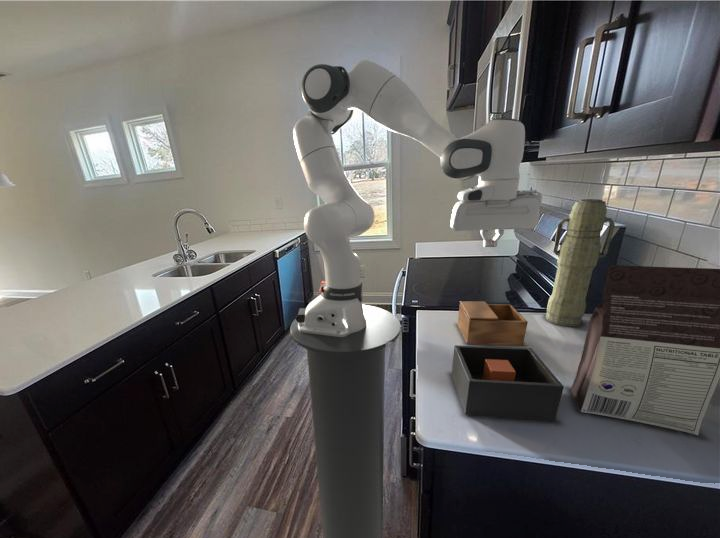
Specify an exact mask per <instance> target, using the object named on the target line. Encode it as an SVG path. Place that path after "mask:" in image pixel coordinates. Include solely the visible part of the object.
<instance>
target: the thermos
mask: <svg viewBox="0 0 720 538" xmlns="http://www.w3.org/2000/svg"><path fill="white" fill-rule="evenodd" d="M607 213H608V209H607V203H606V201H605V200H603V199H601V198H600V199H598V198H588V199H587V198H586V199H585V198H584V199H579V200H577V201H575V203H574V204H573V206H572V208H571V211H570V213H569V216H567V217H565V218H562V220H560V221H559V222H558V223H557V227H556V233H555V239H554V244H553V248H552V252H553V253H554V255H555V256H557V259H556V264H557V269H556V273H555V279H554V283H553V288H552V293H551V294H550V295H549V298H548V301H547V306H546V314H545V319H546V321H548V322H550V323H551V324H555V325H557V326H563V327H579V326H580V325H581V324H582V320H583V318H584V315H585V312H586V307H587V301H586V298H587V294H588V291H589V286H590V283H591V278H592V274H593V270H594V269H595V268H596V266H597V264H598V260H600V258H601V259H602V258H606V256H607V255H608V251H609V248H610V244H611V241H612V236H613V233H614V229H615V225H616V224H615V222H614V220H613V219H612V218H610V217H607ZM565 222H567V226H566V233H565V235H564V238H563V239H562V242H561V243H560V239H561V235H562V230H563V225H564V224H565ZM607 223H608V228H607V232H606V235H605V239H604V243H603V247H602V245H601V237H602V235H601V233H602V231H603V229H604V225H605V224H607ZM559 244H560V245H559ZM601 248H602V251H601Z"/></svg>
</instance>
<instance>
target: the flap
mask: <svg viewBox="0 0 720 538" xmlns="http://www.w3.org/2000/svg"><path fill="white" fill-rule="evenodd" d="M459 304H461V305H462V306H463V308H464V310H465V311H466V313H467V315H468V316H469V318H470V319H498V317H497V316H496V315H495V313H494V312H493V311H492V310H491V308H490V307H489V306H488V305H487V304H488V303H487V302H486V301H485V300H483V301H481V300H479V301H477V300H476V301H474V300H473V301H471V300H470V301H469V300H467V301H464V300H463V301H459Z"/></svg>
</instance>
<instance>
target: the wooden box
mask: <svg viewBox="0 0 720 538" xmlns="http://www.w3.org/2000/svg"><path fill="white" fill-rule="evenodd" d="M487 305H488V306H489V307H490V308H491V310H492V311H493V312H494V313H495V315H496V316H497V317H498V319H470V318H469V316H468V315H467V313H466V311H465V310H464V308H463V306H462V305H461V303H459V305H458V307H459V309H458V317H457V327H458V329H459V330H460V333H461V335H462V337H463V339H464V341H465V343H466V345H488V346H489V345H492V346H519V347H520V346H522V347H524V344H525V338H526V333H527V329H528V328H527V327H528V323H529V321H528V320H527V319H526V318H525V317H523V316H522V314H521V313H520V312H519V311H518V310H517V309H516V308H515V307H514V306H513V305H512V304H507V303H506V304H505V303H503V304H502V303H500V304H499V303H498V304H497V303H487Z"/></svg>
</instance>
